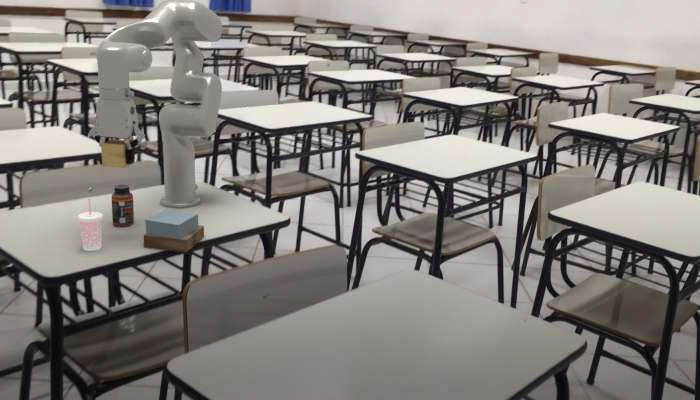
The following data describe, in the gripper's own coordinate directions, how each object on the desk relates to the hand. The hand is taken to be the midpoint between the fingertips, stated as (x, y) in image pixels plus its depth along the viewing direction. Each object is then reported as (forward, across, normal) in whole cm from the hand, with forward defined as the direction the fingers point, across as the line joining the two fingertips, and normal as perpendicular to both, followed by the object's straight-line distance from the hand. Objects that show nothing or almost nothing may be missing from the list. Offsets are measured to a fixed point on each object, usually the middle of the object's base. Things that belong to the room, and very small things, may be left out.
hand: (118, 161), depth 185 cm
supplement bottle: (+22, +5, -10) cm, 24 cm away
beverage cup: (+22, +3, +10) cm, 24 cm away
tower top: (+18, -15, 0) cm, 23 cm away
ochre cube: (+1, 0, 0) cm, 1 cm away
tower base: (+22, -15, 0) cm, 27 cm away
